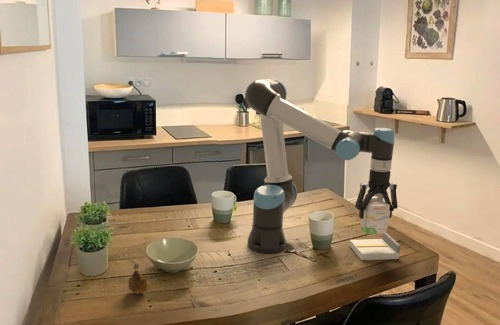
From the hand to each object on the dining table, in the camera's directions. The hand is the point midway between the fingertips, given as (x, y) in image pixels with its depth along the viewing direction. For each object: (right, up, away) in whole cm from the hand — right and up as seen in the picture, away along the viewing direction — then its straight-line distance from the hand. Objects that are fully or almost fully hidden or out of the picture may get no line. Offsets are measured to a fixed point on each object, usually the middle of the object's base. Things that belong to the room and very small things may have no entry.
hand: (374, 225), depth 182 cm
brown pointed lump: (-84, -17, -33) cm, 92 cm away
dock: (0, -11, +3) cm, 11 cm away
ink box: (0, -3, +1) cm, 3 cm away
